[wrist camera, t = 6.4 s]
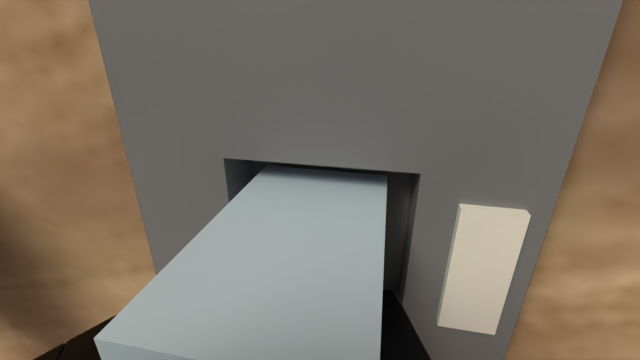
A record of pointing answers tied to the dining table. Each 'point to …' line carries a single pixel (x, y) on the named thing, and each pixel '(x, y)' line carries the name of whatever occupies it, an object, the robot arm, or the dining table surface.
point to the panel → (368, 128)
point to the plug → (269, 277)
